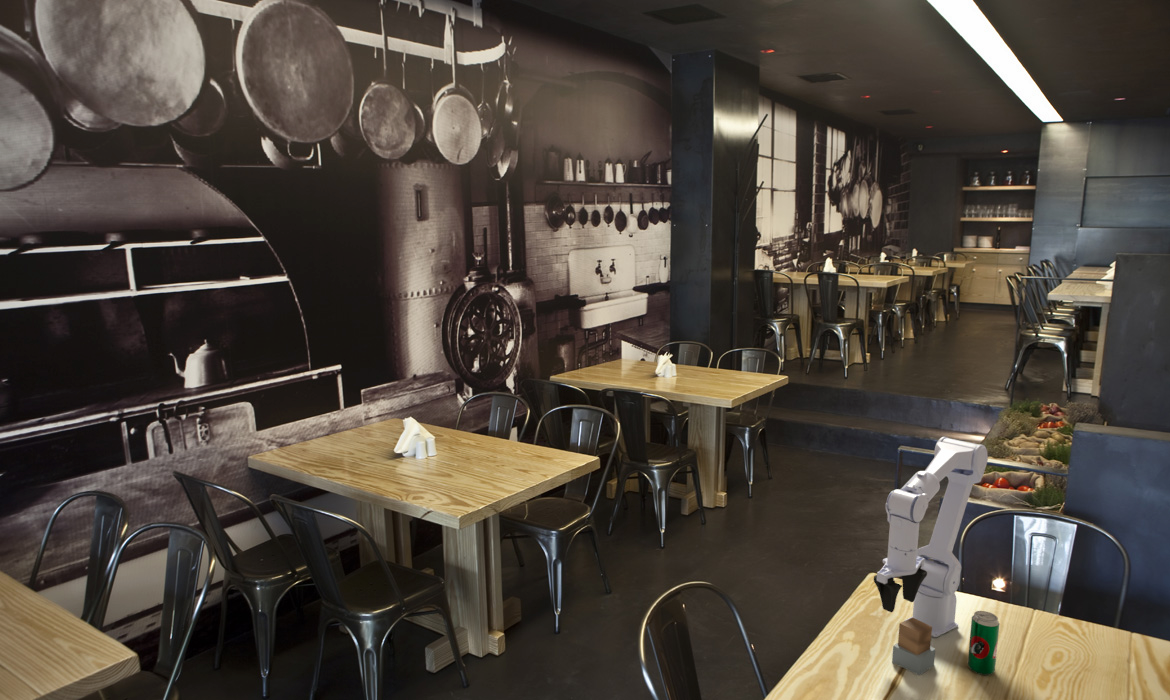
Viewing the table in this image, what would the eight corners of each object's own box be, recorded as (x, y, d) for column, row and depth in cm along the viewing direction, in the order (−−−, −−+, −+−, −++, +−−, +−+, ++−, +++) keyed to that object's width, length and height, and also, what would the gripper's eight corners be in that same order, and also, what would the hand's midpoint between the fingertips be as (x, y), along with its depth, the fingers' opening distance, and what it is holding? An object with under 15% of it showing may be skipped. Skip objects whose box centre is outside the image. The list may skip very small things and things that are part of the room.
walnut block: (910, 639, 159) (912, 617, 158) (930, 648, 155) (932, 626, 155) (897, 645, 157) (899, 623, 156) (917, 655, 153) (919, 632, 152)
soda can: (998, 677, 152) (1003, 623, 150) (971, 674, 153) (976, 620, 151) (990, 663, 157) (995, 611, 155) (964, 661, 158) (969, 608, 156)
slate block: (906, 653, 161) (908, 636, 160) (933, 666, 156) (935, 648, 156) (891, 663, 157) (893, 645, 157) (919, 676, 153) (920, 658, 152)
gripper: (905, 531, 166) (901, 588, 168) (865, 547, 157) (861, 606, 160) (935, 542, 160) (930, 601, 162) (895, 559, 152) (891, 620, 154)
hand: (898, 605), depth 160 cm, fingers open, 7 cm apart
